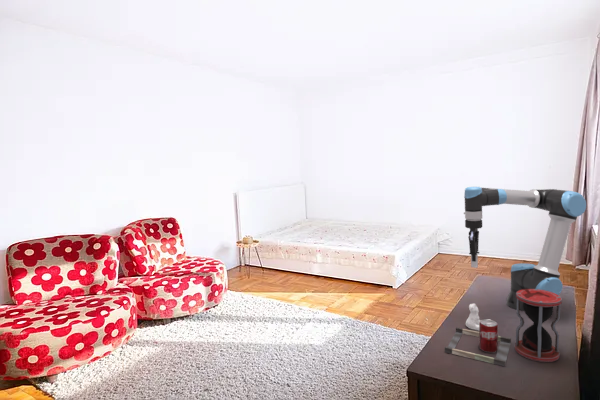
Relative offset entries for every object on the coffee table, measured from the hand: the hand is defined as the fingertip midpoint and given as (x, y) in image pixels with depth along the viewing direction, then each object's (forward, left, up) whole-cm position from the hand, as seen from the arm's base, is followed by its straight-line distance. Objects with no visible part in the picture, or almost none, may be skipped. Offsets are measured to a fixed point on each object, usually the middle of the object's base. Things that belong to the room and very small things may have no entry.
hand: (474, 267), depth 190 cm
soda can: (+24, +10, -29) cm, 39 cm away
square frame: (+24, +6, -29) cm, 38 cm away
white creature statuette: (+5, +1, -29) cm, 29 cm away
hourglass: (+17, +27, -29) cm, 43 cm away
